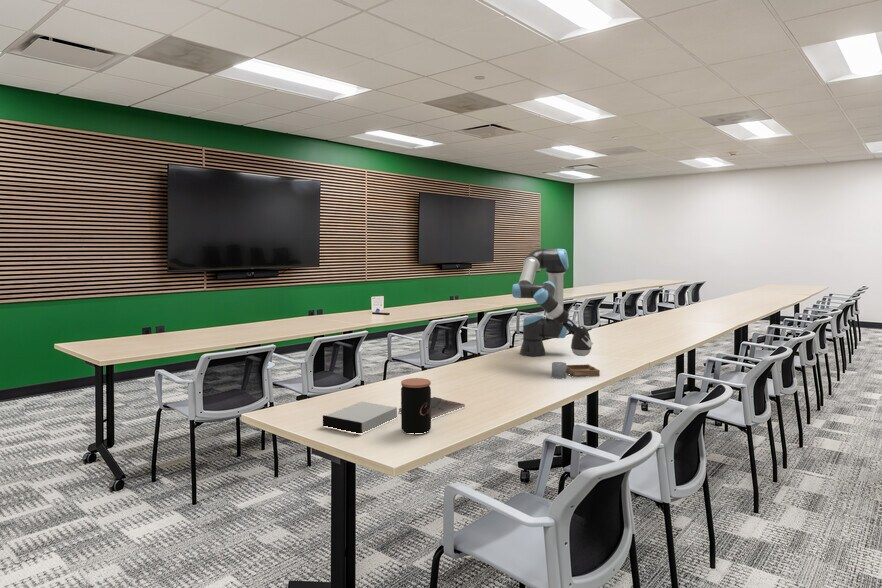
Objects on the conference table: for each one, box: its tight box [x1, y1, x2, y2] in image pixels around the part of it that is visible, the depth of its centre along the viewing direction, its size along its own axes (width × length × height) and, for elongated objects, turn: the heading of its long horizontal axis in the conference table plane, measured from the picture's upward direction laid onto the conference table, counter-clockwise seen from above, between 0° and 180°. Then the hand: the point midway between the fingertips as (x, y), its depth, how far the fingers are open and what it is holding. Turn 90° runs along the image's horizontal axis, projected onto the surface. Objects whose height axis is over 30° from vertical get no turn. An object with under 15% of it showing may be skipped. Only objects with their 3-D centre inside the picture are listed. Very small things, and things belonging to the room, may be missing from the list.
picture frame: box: [398, 396, 466, 419], centre depth 224 cm, size 16×2×22 cm
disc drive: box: [322, 401, 398, 433], centre depth 209 cm, size 18×22×5 cm
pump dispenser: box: [570, 325, 593, 357], centre depth 286 cm, size 10×10×15 cm
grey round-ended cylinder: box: [551, 361, 567, 380], centre depth 280 cm, size 7×7×7 cm
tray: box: [566, 363, 601, 378], centre depth 288 cm, size 14×14×3 cm
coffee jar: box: [400, 377, 432, 434], centre depth 199 cm, size 11×11×18 cm
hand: (587, 343), depth 286 cm, fingers closed on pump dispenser, 10 cm apart
